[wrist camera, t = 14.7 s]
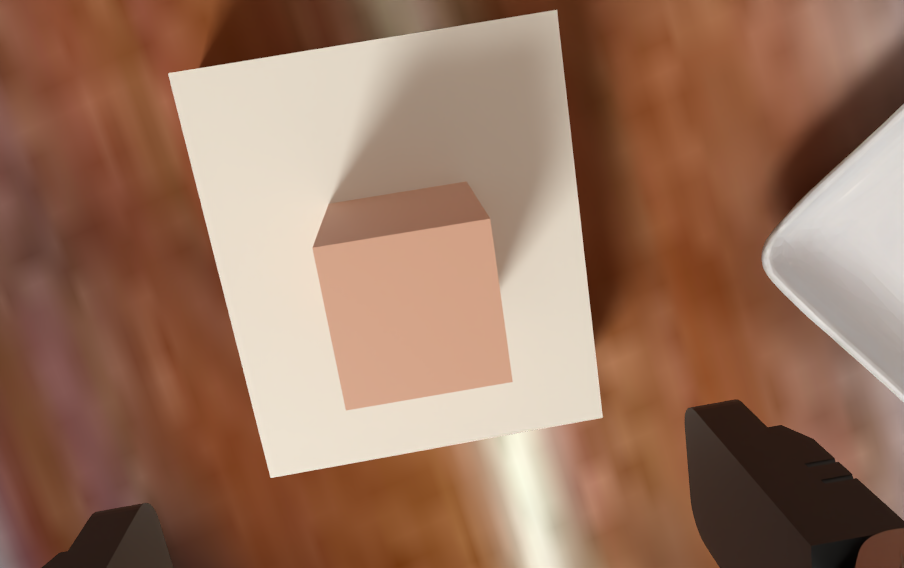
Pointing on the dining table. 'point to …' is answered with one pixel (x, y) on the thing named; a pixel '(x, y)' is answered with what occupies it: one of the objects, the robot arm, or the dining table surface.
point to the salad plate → (851, 254)
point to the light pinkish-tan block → (412, 295)
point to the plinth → (385, 172)
